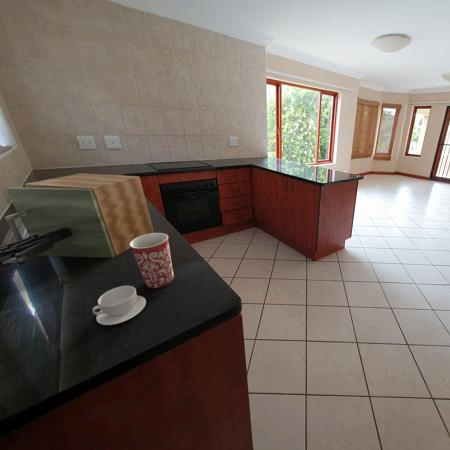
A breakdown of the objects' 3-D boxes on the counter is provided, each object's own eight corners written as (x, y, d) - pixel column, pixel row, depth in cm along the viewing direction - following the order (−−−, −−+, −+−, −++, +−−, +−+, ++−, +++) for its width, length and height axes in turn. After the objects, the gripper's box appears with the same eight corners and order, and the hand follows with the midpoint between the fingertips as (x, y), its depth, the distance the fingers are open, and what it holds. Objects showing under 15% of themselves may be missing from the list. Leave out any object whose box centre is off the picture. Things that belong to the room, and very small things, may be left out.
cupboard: (116, 256, 82) (93, 188, 72) (54, 249, 86) (24, 183, 76) (154, 234, 98) (139, 176, 88) (100, 229, 102) (81, 173, 92)
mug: (173, 288, 66) (162, 245, 61) (137, 292, 64) (122, 249, 59) (183, 264, 77) (175, 226, 72) (153, 267, 76) (142, 228, 70)
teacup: (140, 291, 65) (135, 277, 63) (151, 310, 58) (147, 295, 56) (93, 310, 58) (87, 295, 56) (100, 334, 52) (93, 317, 50)
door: (100, 266, 76) (73, 194, 66) (22, 263, 76) (-16, 192, 67) (115, 255, 81) (92, 188, 72) (42, 254, 82) (10, 187, 73)
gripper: (-53, 283, 58) (55, 240, 79) (-8, 289, 55) (90, 243, 77) (-71, 256, 55) (45, 219, 76) (-25, 262, 53) (81, 222, 74)
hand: (67, 231), depth 76 cm, fingers closed
